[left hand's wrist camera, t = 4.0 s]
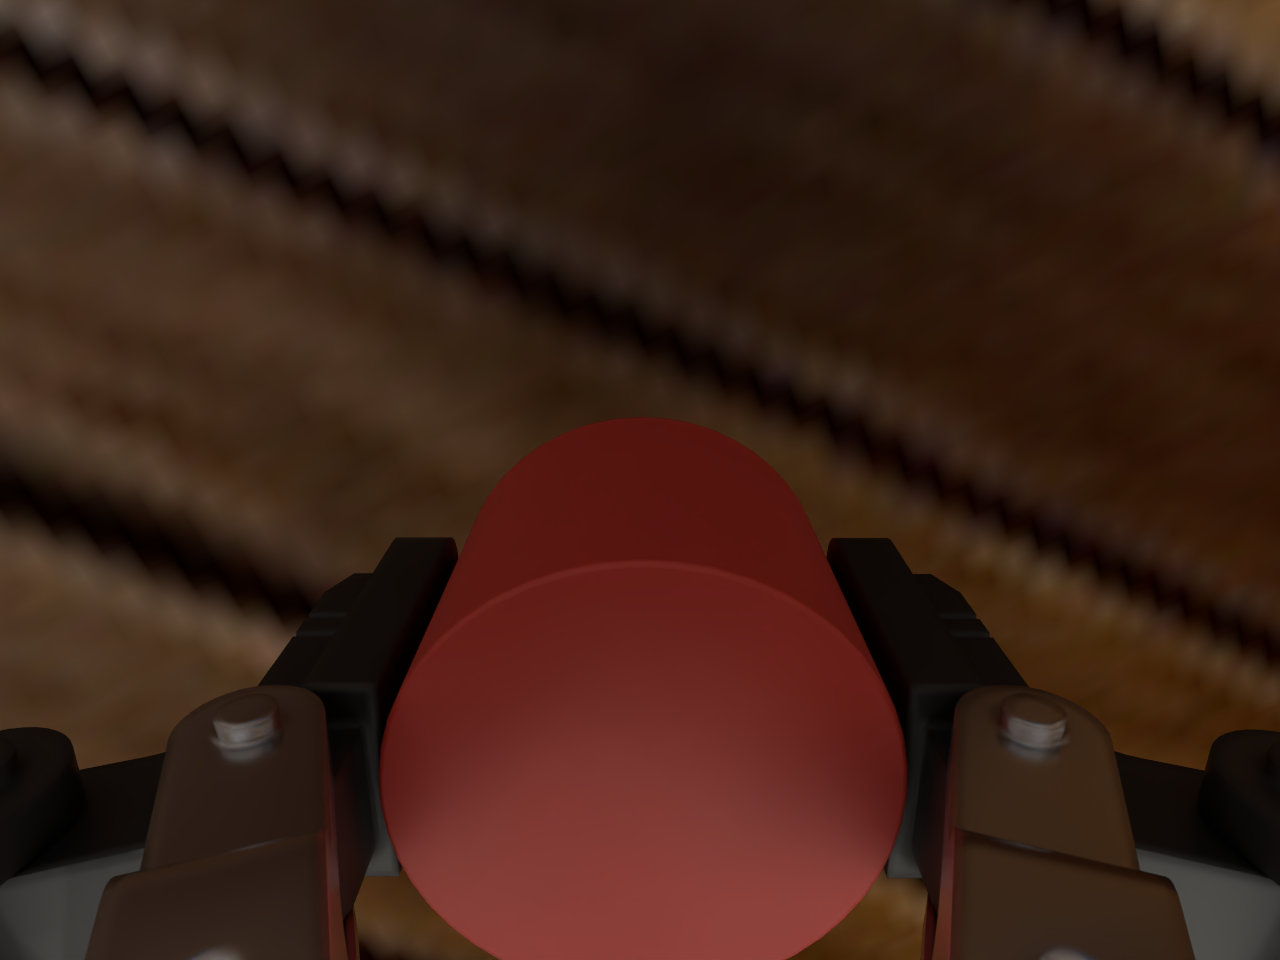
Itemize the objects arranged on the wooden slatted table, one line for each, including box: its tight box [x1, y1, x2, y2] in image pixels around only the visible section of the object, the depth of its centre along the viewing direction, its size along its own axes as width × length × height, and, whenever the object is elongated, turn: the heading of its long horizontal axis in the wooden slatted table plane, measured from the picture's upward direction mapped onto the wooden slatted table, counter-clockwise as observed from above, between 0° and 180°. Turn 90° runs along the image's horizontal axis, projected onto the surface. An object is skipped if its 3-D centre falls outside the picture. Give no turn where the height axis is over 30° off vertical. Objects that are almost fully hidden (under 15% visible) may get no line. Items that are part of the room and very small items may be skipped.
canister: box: [378, 417, 908, 960], centre depth 10 cm, size 5×5×4 cm
